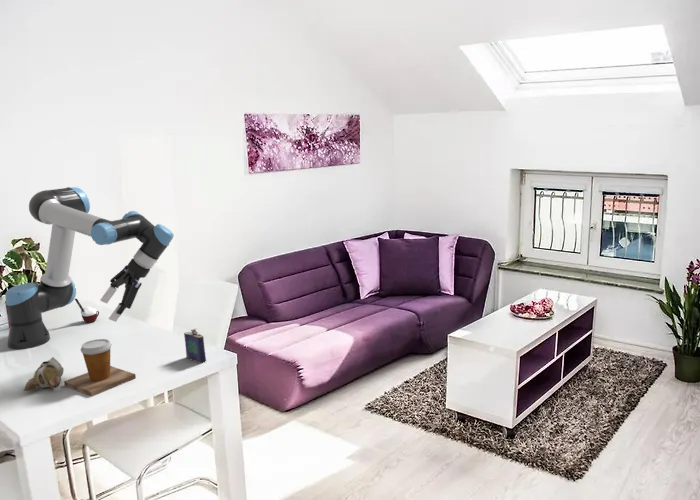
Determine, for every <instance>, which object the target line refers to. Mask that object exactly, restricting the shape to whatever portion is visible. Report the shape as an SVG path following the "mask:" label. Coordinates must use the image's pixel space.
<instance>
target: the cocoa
mask: <svg viewBox="0 0 700 500" xmlns="http://www.w3.org/2000/svg"><path fill="white" fill-rule="evenodd" d="M74 300H75V302H76V303H77V305H78V307H79V309H80V314H81V318H82V320H83V322H84V323H88V324H91V323H94V322H96V321H97V319H98V317H99V314H100V311H99V310H97V309H96V308H94V307H90V306H84V307H83V306H82V304H81V303H80V302H79V299H78V298H76V297H75V298H74Z"/></svg>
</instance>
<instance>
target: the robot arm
mask: <svg viewBox="0 0 700 500" xmlns="http://www.w3.org/2000/svg"><path fill="white" fill-rule="evenodd" d="M90 203H91V202H90V199H89V197H88V195H87V194H86V192H85V191H84V190H83V189H81V188H79V187H78V186H77V187H76V186H75V187H74V186H73V187H70V186H68V187H64V188H56V189H45V190H41V191H38V192H36V193H35V194H34V195H33V196H32V197H31V198H30V200H29V203H28V210H29V213H30V215H31V217H32V218H33V219H34V220H36V221H38V222H39V223H43V224H45V225H52V226H51V230H50V231H51V232H50V238H49V239H50V240H49V247H48V254H47V260H46V266H45V267H46V269H45V273H43V274H42V275H41V276H40V280H39V281H40V282H39V284H37V283H35V282H26V283H21V284H17V285H14V286H12V287H10V288H8V290H7V291H6V292H5V304H6V310H7V316H8V320H9V321H8V322H9V331H8V336H7V347H8V348H10V349H15V350H16V349H17V350H19V349H28V348H29V349H30V348H33V347H38V346H41V345H43V344H45V343H47V342H49V341H50V340H51V336H50V335H51V334H50V333H49V330H48V329H47V327H46V325H45V324H44V323H45V322H44V321H43V315H42V314H43V313H47V312H49V311H52V310H55V309H56V310H57V309H59V308H63V307H66V306H68V305H70V304H71V303H73V301H74V300H75V298H76V295H77V288H76V284H75V282H74V281H73V280H72V277H71V276H70V275H69V273H70V266H71V261H72V253H73V248H74V243H75V235H76V233H79V234H83V235H85V236H88V237H91V238H92V241H93V242H94V243H95V244H96V245H99V246H105V245H106V246H107V245H111V244H115V243H119V242H123V241H128V240H133V239H137V240H138V241H139V242H140V243H142V244H141V246H140V247H139V248H138V249H137V251H136V252H135V254H134V255H133V258H131V260H130V261H129V262H128V264H127V265H125V266H124V267H123V268H122V269H121V270H120V271H119V272H117V274H115V275H114V276H113V277H111V279H110V280H109V281H110V284H109V287H108V288H107V289H106V291H105V292H104V294H103V295H102V296H101V298H100V302H102V303H105V304H108V303H109V302H110V300H111V299H112V298H113V296H114V295H115V293H116V292H117V291H118V289H119V287H121V286H123V285H124V288H125V289H124V292H123V296H122V299H121V302H119V303H118V304H117V306H116V308H115V309H114V310H113V312H112V313H111V314H110V316H109V317H108V320H110V321H113V322H114V323H116V322H117V321H118V319H119V318H120V317H121V316H122V314H123V313H124V311H125V310H126V309H128V310H129V309H131V308H132V306H133V303H134V301H135V299H136V297H137V294H138V291H139V289H140V288H141V287H142V285H143V283H142V282H139V281H140V279H141V278H142V279H143V278H146V277H147V276H148V274H149V273H150V271H151V269H153V267H154V265H155V264H156V263H157V262H158V260H159V258H160V257H161V256H162V254H163V253H164V252H165V250H166V249H167V248H168V246H170V243H171V242H172V241H173V238H174V233H173V231H171V230H170V229H169V228H168V227H166V226H165V225H162V224H161V223H157V224H156V225H154V224H153V223H152V222H151V221H150V220H148V219H147V218H146V217H145V216H144V215H143V214H141V213H139V212H138V211H136V210H130V211H128V212H127V213H125V214H124V215H123V216H122V218H121V219H116V220H110V219H105V218H103V217H100V216H97V215H94V214H91V213H89V212H90V208H91V204H90Z"/></svg>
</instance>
